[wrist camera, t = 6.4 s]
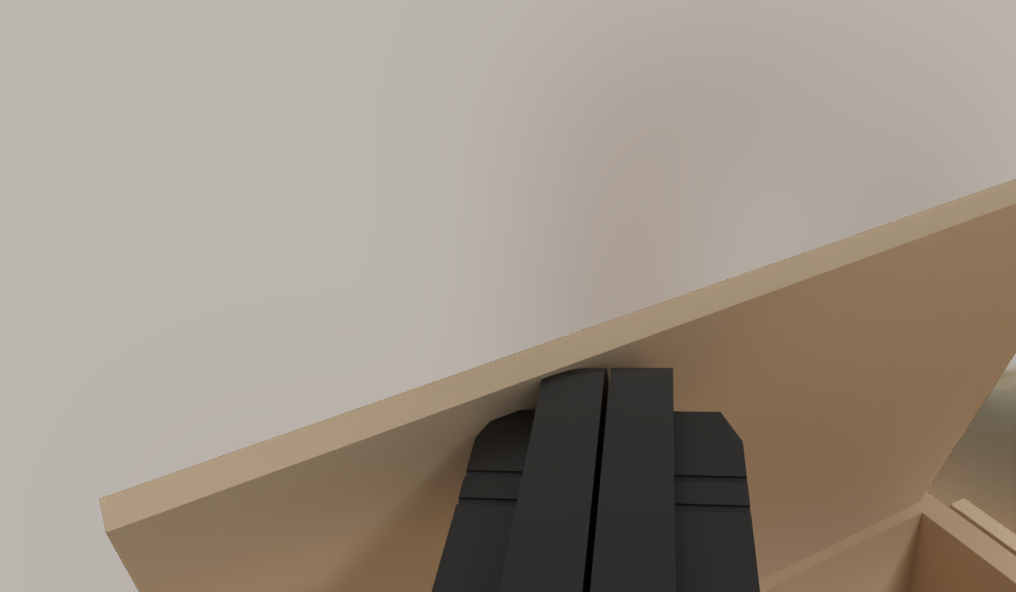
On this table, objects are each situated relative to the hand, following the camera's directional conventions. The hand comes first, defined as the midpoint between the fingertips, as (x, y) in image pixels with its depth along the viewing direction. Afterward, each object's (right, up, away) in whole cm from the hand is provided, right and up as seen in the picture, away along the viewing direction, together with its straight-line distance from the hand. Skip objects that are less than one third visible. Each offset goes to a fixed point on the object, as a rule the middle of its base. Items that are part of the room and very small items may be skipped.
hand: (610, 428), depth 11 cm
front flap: (+1, -2, +3) cm, 4 cm away
